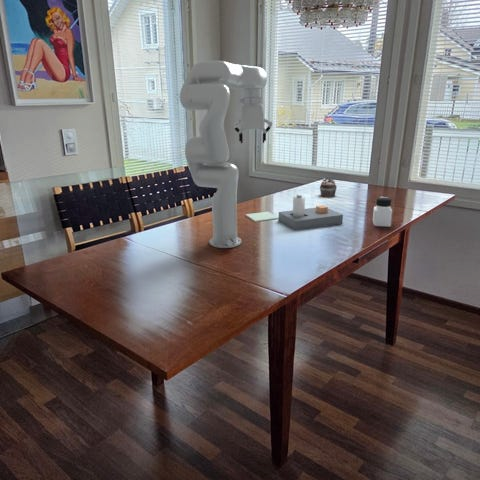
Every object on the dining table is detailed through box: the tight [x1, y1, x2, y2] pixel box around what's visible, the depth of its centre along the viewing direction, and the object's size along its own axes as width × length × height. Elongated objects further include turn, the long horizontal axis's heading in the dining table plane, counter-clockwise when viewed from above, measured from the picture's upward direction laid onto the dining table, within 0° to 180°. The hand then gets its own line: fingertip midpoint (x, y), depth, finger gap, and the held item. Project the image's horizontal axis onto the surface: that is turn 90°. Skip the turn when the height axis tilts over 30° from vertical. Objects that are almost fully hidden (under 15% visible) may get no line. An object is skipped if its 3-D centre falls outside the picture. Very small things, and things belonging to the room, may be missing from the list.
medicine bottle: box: [372, 196, 394, 228], centre depth 179 cm, size 7×7×12 cm
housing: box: [278, 207, 344, 231], centre depth 186 cm, size 16×24×4 cm, turn 111°
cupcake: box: [319, 177, 337, 198], centre depth 234 cm, size 10×10×10 cm
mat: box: [245, 211, 279, 223], centre depth 195 cm, size 12×12×1 cm
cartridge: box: [292, 194, 306, 218], centre depth 183 cm, size 5×5×13 cm
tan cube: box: [315, 204, 329, 214], centre depth 187 cm, size 4×4×4 cm
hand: (252, 142), depth 179 cm, fingers open, 9 cm apart
